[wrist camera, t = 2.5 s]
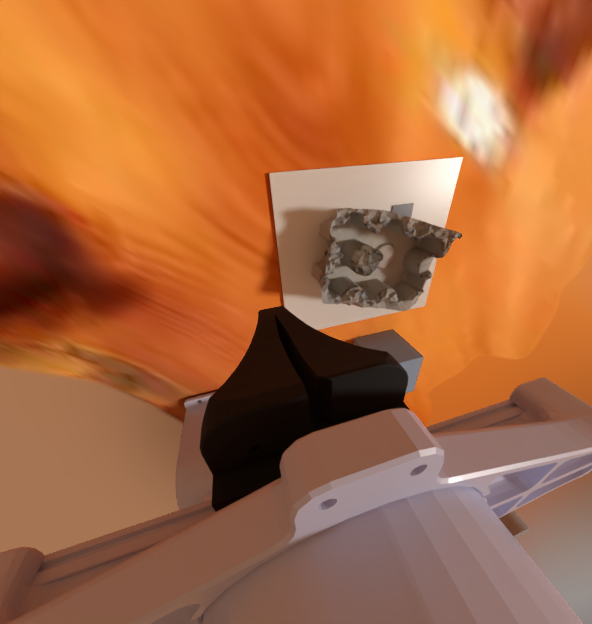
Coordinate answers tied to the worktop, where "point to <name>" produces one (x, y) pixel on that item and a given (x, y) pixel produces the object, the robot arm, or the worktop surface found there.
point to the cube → (395, 352)
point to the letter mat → (357, 195)
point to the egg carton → (378, 258)
